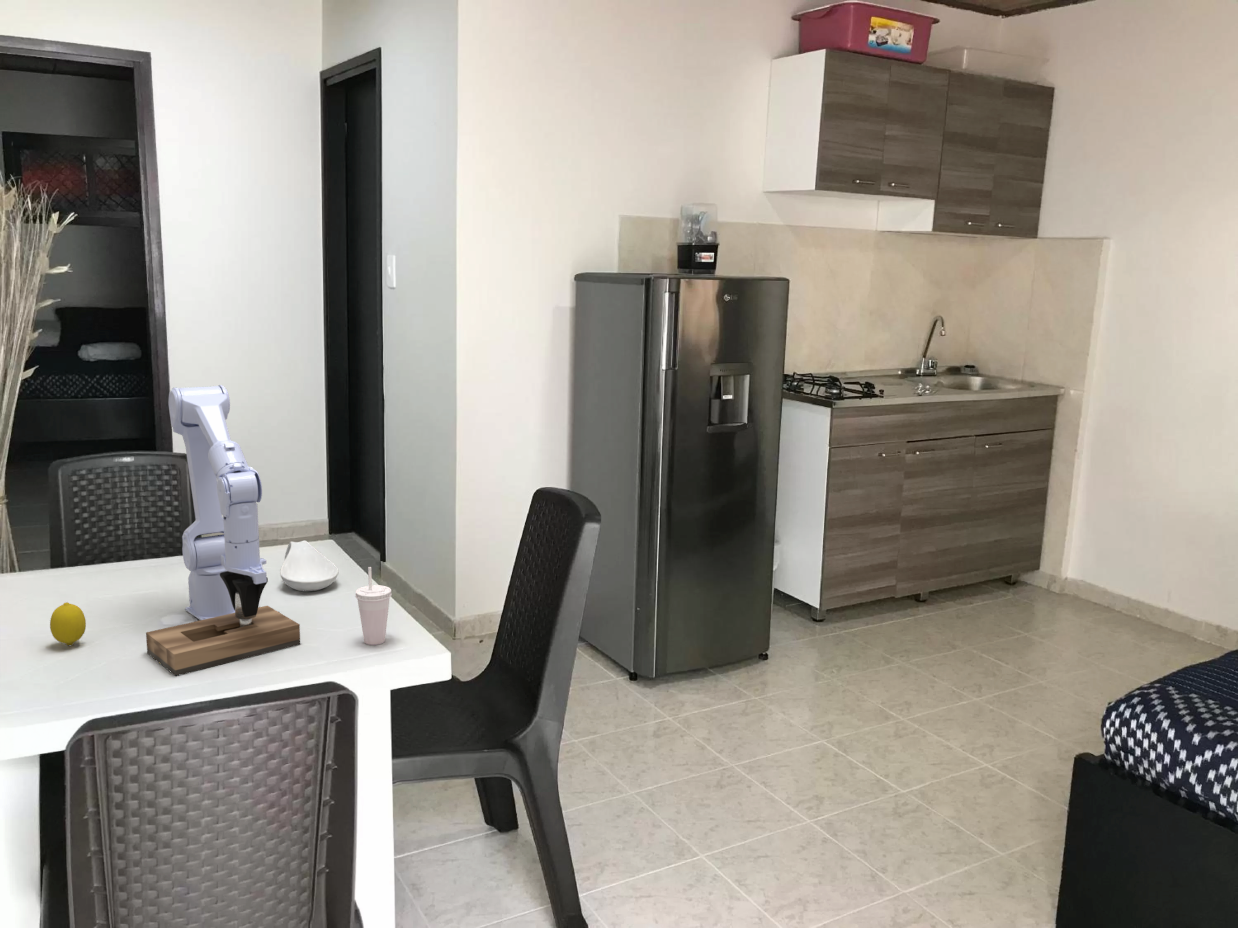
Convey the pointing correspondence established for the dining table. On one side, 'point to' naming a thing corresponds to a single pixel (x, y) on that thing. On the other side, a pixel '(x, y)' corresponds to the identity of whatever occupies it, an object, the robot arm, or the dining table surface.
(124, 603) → the dining table surface
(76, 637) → the lemon
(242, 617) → the peg
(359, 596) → the smoothie
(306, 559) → the spoon rest
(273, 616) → the keyhole board
